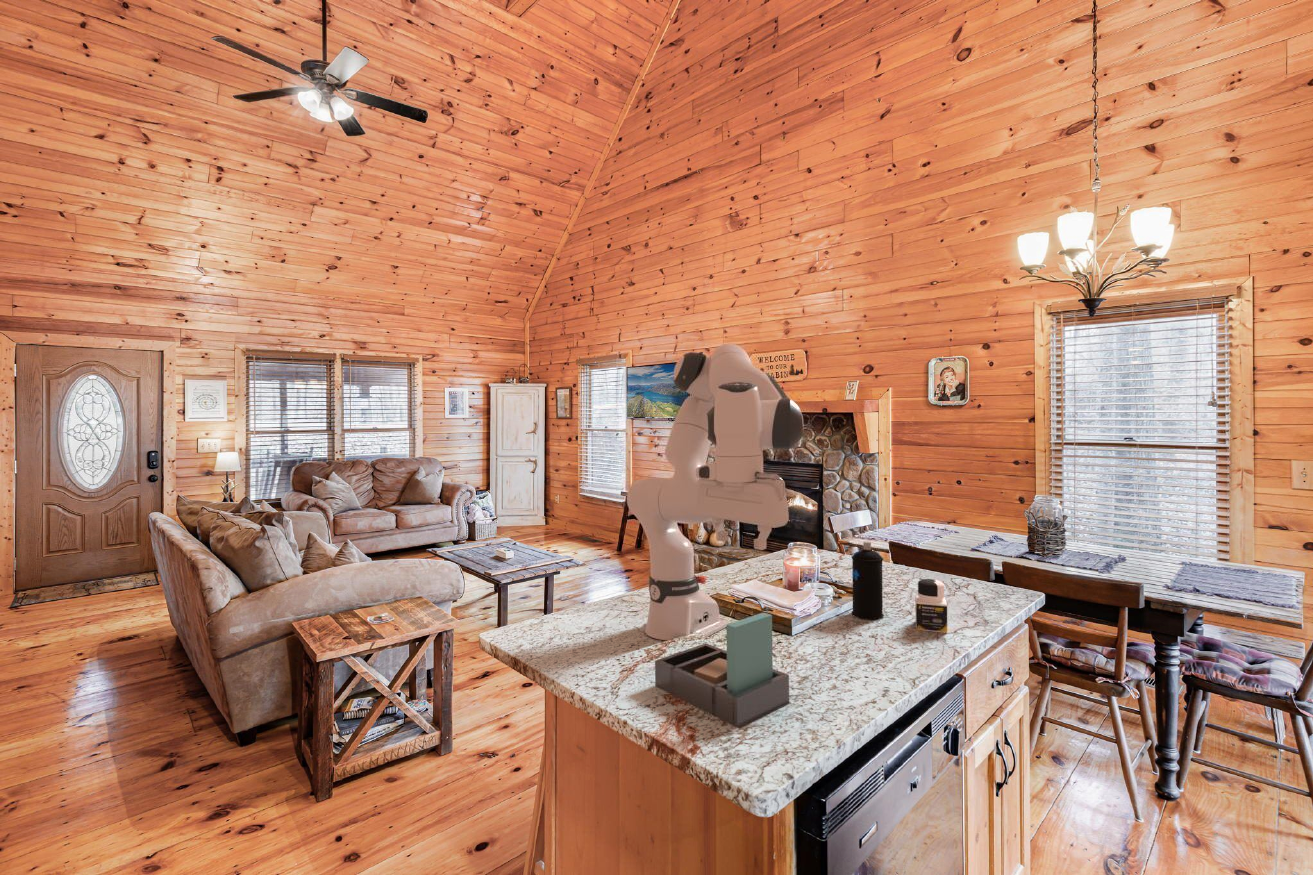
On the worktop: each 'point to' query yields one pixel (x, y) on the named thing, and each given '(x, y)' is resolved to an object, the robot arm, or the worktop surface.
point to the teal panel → (749, 652)
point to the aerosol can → (867, 584)
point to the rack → (719, 687)
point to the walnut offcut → (713, 671)
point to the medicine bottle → (931, 606)
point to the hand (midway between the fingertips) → (740, 544)
